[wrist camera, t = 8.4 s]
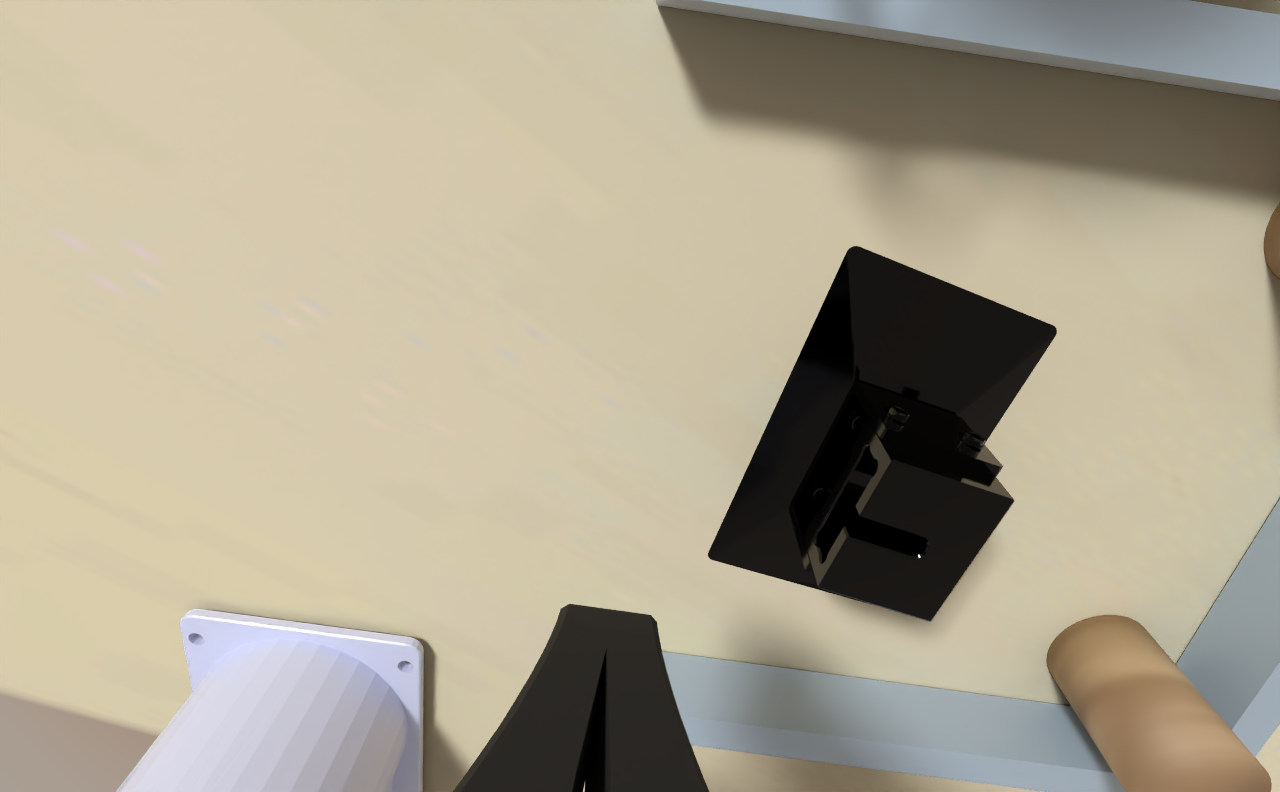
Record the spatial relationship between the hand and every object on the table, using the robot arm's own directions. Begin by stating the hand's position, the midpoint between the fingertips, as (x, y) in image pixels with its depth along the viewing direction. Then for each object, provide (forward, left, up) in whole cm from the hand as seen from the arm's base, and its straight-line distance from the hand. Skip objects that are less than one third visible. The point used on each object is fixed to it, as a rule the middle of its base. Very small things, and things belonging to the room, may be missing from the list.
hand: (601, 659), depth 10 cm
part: (-7, -16, -10) cm, 20 cm away
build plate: (-1, -7, -11) cm, 13 cm away
